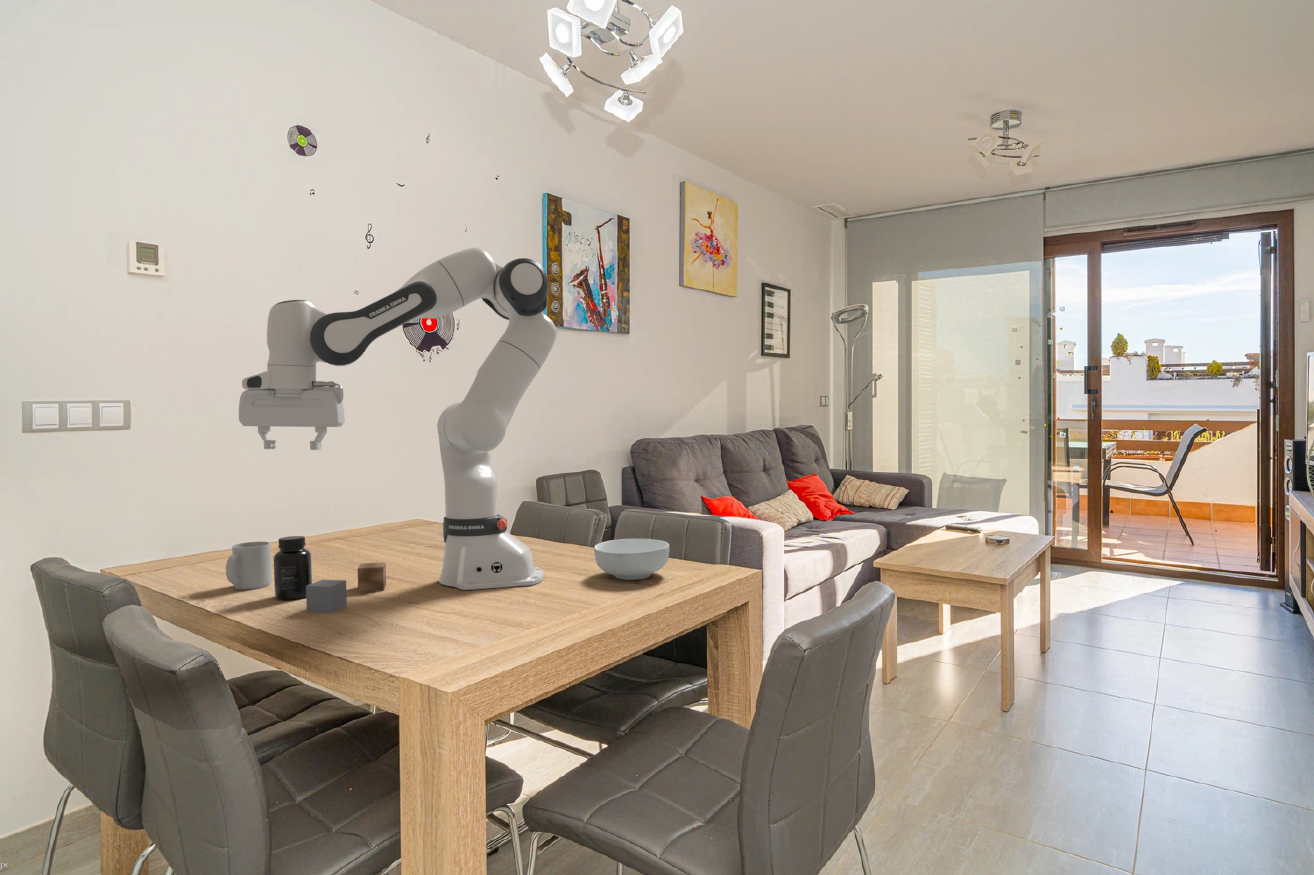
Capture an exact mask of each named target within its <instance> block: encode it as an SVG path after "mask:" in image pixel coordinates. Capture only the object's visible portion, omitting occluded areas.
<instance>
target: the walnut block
mask: <svg viewBox="0 0 1314 875" xmlns="http://www.w3.org/2000/svg"><path fill="white" fill-rule="evenodd" d="M386 565H387V562H386V561H382V562H366V563H365V562H364V563H360V564H359V565H358V567H357V592H358V593H367V592H369V593H370V592H382V591H385V589H386V586H387V566H386Z"/></svg>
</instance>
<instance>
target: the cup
mask: <svg viewBox="0 0 1314 875" xmlns="http://www.w3.org/2000/svg"><path fill="white" fill-rule="evenodd" d="M271 546H272V545H271V542H270V541H246V542H241V543H236V544H233V545H232V546H231V548H232V550H231V551H232V554H231V555H230V556H229V557H228V558H227V561H226V565H225V575H226V579H227V581H228V582H230V583H231V584H232V585H233V587H234V589H236V590H243V591H244V590H245V591H247V590H248V591H249V590H257V589H262V588H267V587H269V586H270V585H271V584H272V581H273V575H272V547H271Z"/></svg>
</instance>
